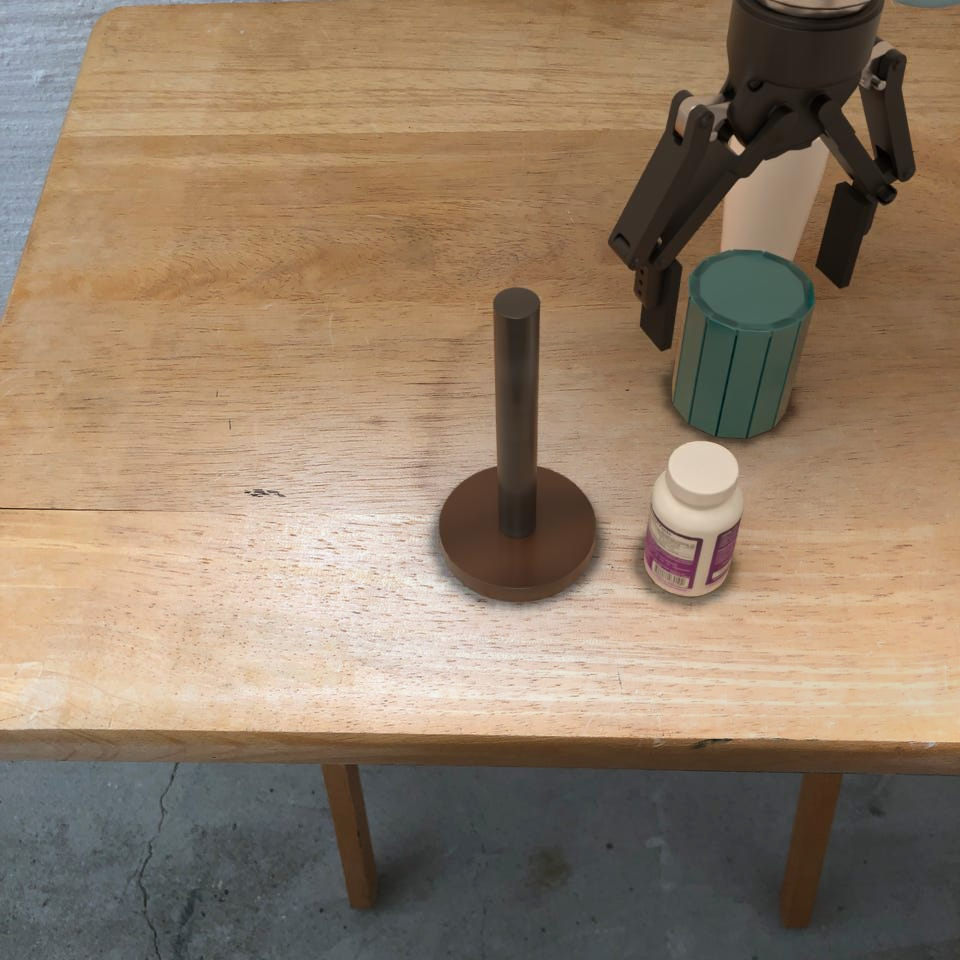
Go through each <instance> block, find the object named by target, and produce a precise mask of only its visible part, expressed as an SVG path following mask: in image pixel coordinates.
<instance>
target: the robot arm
mask: <svg viewBox="0 0 960 960" xmlns="http://www.w3.org/2000/svg"><path fill="white" fill-rule="evenodd" d="M892 1H893V2H896V3H898V4H901V5H903V6H908V7H913V8H919V9H942V8H943V9H944V8H950V7H954V6H958V5H960V0H892ZM884 7H885V0H732V1H731V8H730V16H729V20H728V21H729V22H728V29H727V35H726V43H725V44H726V45H725V46H726V54H727V55H726V56H727V62H728V72H727V77H726V78H725V81H724V83H723V85H722V87H721V88H720V90H719V91H718V94H711V95H706V96H699V97H696V96H695V95H693V93H691V92H690V91H689V90H688V89H681V90H679V91H677V92H676V93H675V94H674V96H673V97H672V99H671V102H670V107H669V110H668V111H669V112H668V116H667V120H666V125H665V130H664V132H663V133H662V135H661V138H660V139H659V141H658V142H657V145H656V147H655V149H654V150H653V152H652V155H651V157H650V158H649V161H648V162H647V164H646V166H645V167H644V170H643V172H642V174H641V176H640V178H639V179H638V181H637V183H636V185H635V186H634V188H633V191H632V193H631V195H630V197H629V198H628V200H627V202H626V205H625V206H624V208H623V210H622V212H621V214H620V215H619V217H618V219H617V221H616V223H615V225H614V227H613V229H612V231H611V233H610V234H609V237H608V239H607V245H608V247H609V248H610V249H611V250H612V251H613V252H614V253H615V254H616V256H617V257H618V258H619V259H620V261H622V263H623V264H624V265H625V266H626V267H627V268H628V269H629V271H632V272H634V284H633V293H634V295H635V297H636V298H637V299H638V300H639V302H640V303H641V308H640V317H639V328H640V329H641V330H642V332H644V334H645V335H646V336H647V337H648V338H649V340H650V341H651V342H652V343H653V344H654V345H655V347H656V348H657V349H658V350H659V351H660V353H662V352H665V351H667V350H670V349H672V347H673V339H674V332H675V325H676V324H675V323H676V317H677V312H678V311H677V310H678V305H679V297H680V290H681V282H682V277H683V276H682V275H683V265H682V263H680V261H679V260H678V259H677V257H678V255H679V254H680V253H681V251H682V250H683V249H684V248H685V247H686V245H688V243H689V242H690V240H692V238H693V237H694V235H696V233H697V232H698V231H699V230H700V229H701V227H702V226H703V224H704V223H705V222H706V221H707V219H708V218H709V217H710V216H711V215H712V213H713V212H714V211H715V210H716V208H717V207H718V206H719V205H720V203H721V202H722V201H723V200H724V197H725V196H726V194H727V193H728V192H729V191H730V189H731V188H732V187H733V186H734V185H735V183H736V182H737V181H738V180H739V179H741V178H747V177H749V176H750V175H751V174H752V173H753V172H754V171H755V169H756V168H757V167H758V166H759V164H760V163H761V162H762V161H763V160H765V161H767V160H770V159H773V158H776V157H778V156H780V155H782V154H784V153H786V152H787V151H791V150H802V149H806V148H809V147H811V145H812V142H813V141H814V140H816V139H817V138H818V137H820V139H821V140H822V141H823V143H824V144H825V145H826V147H827V148H828V149H829V151H830V153H831V155H832V156H833V158H834V159H835V160H836V161H837V163H838V164H839V165H840V167H841V168H842V170H843V171H844V172H845V174H846V175H847V176H848V178H849V179H850V180H852V183H849V182H848V181H847V180H845V181H844V180H843V181H841V182H838V183H836V184H835V187H834V191H833V194H832V199H831V201H830V206H829V210H828V213H827V218H826V221H825V225H824V230H823V233H822V238H821V241H820V245H819V250H818V253H817V257H816V261H815V268H816V269H817V270H818V271H819V272H821V274H823V275H824V276H825V277H826V278H827V279H828V280H829V281H830V282H831V283H832V284H833V285H834V286H835V287H836V288H837V289H838V290H841V289H845V288H847V287H848V288H849V287H850V284H851V280H852V277H853V273H854V270H855V266H856V263H857V259H858V256H859V252H860V249H861V245H862V243H863V239H864V237H865V236H867V235H868V233H869V232H870V230H871V228H872V226H873V223H874V219H875V215H876V213H877V209H878V206H879V204H880V205H881V206H885V207H886V206H888V205H890V204H892V203H893V202H894V200H895V199H896V198H897V195H898V189H897V188H896V187H894V186H893V185H892V184H893V183H895V182H897V181H898V182H900V183H906V182H908V181H910V180H911V179H912V178H913V176H914V175H915V173H916V170H917V166H916V161H915V154H914V150H913V144H912V139H911V138H912V137H911V132H910V127H909V121H908V116H907V115H908V114H907V110H906V104H905V98H904V94H903V84H904V78H905V73H906V67H907V63H908V57H907V56H906V54H904V53H903V52H901V51H900V50H899V49H897V48H895V47H894V46H892V45H891V44H890V43H889V42H887V41H885V40H884V39H883V38H881V37H880V36H878V30H879V26H880V22H881V18H882V14H883V10H884ZM857 88H858V91H859V95H860V100H861V104H862V109H863V113H864V119H865V122H866V127H867V131H868V135H869V140H870V144H871V149H872V154H873V157H871V156H870V153H869V152H868V151H867V149H866V148H865V146H864V145H863V144H862V142H861V141H860V139H859V138H858V136H857V135H856V130H855V129H854V127H853V125H852V124H851V123H850V121H849V120H848V118H847V117H846V116H845V114H844V112H843V110H842V108H843V107H844V106H845V104H846V103H847V102H848V100H849V99H850V98H851V96H852V95H853V93H854V92H855V91H856V90H857ZM733 135H734V136H735V138H736V139H737V141H738V142H739V143H740V144H741V145H742V146H743V147H744V148H745V150H744V151H743V152H742V153H741V154H740V155H737V154H736V153H735V152H734V151H733V150H732V149H731V148H730V147H729V143H730V139H731V137H732V136H733ZM659 239H660V240H661V241H660V240H659Z"/></svg>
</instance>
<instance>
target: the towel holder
mask: <svg viewBox="0 0 960 960" xmlns="http://www.w3.org/2000/svg"><path fill="white" fill-rule="evenodd" d="M492 313H493V314H492V323H493V359H494V360H493V364H494V366H493V367H494V403H495V406H494V407H495V442H496V443H495V447H496V465H495V466H491V467H487V468H484V469H482V470H480V471H478V472H475V473H474V474H472V475H470V476H468V477H467V478H465V479H464V480H463V481H461V482H460V483H459V484H458V485H457V486H456V487H454V489H453V490H452V491H451V492H450V494H449V495H448V496H447V498H446V500H445V502H444V503H443V506H442V508H441V511H440V515H439V519H438V533H439V544H440V545H439V546H440V551H441V555H442V558H443V560H444V562H445V564H446V566H447V568H448V569H449V571H450V573H451V574H453V576H454V577H455V578H456V579H457V580H458V581H459V582H460V583H461V584H463V585H464V586H465V587H467V588H468V589H470V590H471V591H473V592H475V593H477V594H479V595H481V596H483V597H486V598H489V599H492V600H496V601H500V602H509V603H526V602H534V601H539V600H543V599H546V598H549V597H552V596H554V595H556V594H559V593H560V592H562V591H564V590H565V589H567V588H569V587H570V586H571V585H573V584H574V583H575V582H576V581H577V580H578V579H579V578H580V577H581V576H582V575H583V574H584V572H585V571H586V570H587V568H588V567H589V564H590V562H591V560H592V558H593V555H594V551H595V544H596V535H597V521H596V515H595V511H594V508H593V506H592V503H591V502H590V499H588V497H587V495H586V494H585V493H584V492H583V489H581V488H580V487H579V486H578V485H577V484H576V483H575V482H573V481H572V480H571V479H570V478H568V477H566V476H565V475H563V474H561V473H560V472H557V471H555V470H552V469H550V468H546V467H544V466H540V465H538V450H539V449H538V447H539V446H538V445H539V443H538V441H539V398H540V397H539V395H540V394H539V392H540V391H539V389H540V388H539V387H540V386H539V385H540V339H541V338H540V336H541V335H540V334H541V300H540V296H539V295H538V294H537V293H536V292H534V291H533V290H531V289H529V288H526V287H522V286H521V287H520V286H512V287H508V288H505V289H502V290H501V291H499V292H498V293H496V295H495V296H494V297H493V299H492Z"/></svg>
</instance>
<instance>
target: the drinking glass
mask: <svg viewBox="0 0 960 960" xmlns="http://www.w3.org/2000/svg"><path fill="white" fill-rule="evenodd" d="M728 146H729V147H730V148H731V149H732V150H733V151H734V152H735V153H736V154H737V155H740V154H741V153H742V152H743V151H744V150H745V148H744V147H743V146H742V145H741V144H740V143H739V142H738V141H737V139H736V138H735V136H734V135H733V136H732V137H731V138H730V140H729V144H728ZM830 153H831V152H830V151H829V149H828V148H827V147H826V145H825V144H824V143H823V141H822V140H821V139H820V137H818V138H817V139H816V140H814V141H813V142H812V145H811V147H809V148H806V149H802V150H791V151H787V152H786V153H784V154H782V155H780V156H778V157H776V158H773V159H770V160H767V161H765V160H763V161H762V162H761V163H760V164H759V166H758V167H757V168H756V169H755V171H754V172H753V173H752V174H751V175H750V176H749V177H747V178H741V179H739V180H738V181H737V182H736V183H735V185H734V186H733V187H732V188H731V189H730V191H729V192H728V193H727V194H726V196H725V197H724V198H723V208H722V223H721V234H720V238H721V239H720V249H719V253H721V252H724V251H727V250H731V251H732V250H733V249H743V250H762V251H763V252H765V251H767V252H769V253H772V254H775V255H777V256H780V257H782V258H785V259H788V260H790V261H792V263H794V260H795V258H796V254H797V253H798V252H797V251H798V248H799V245H800V243H801V240H802V238H803V234H804V232H805V229H806V226H807V224H808V221H809V218H810V215H811V213H812V211H813V207H814V204H815V201H816V199H817V196H818V193H819V190H820V187H821V185H822V182H823V178H824V175H825V172H826V168H827V164H828V160H829V157H830Z"/></svg>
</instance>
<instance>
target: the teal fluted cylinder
mask: <svg viewBox="0 0 960 960" xmlns="http://www.w3.org/2000/svg"><path fill="white" fill-rule="evenodd" d="M816 302H817V301H816V294H815V288H814V282H813V281H812V278H811V277H810V276H808V275H807V274H806V273H805V271H804V270H803V269H802V268H801V267H800V266H799V265H798V264H797V263H796V262H793V263H792V261H790V260H788V259H785V258H782V257H780V256H777V255H775V254H772V253H769V252H767V251H765V252H763V251H762V250H743V249H733V250H732V251H731V250H727V251H724V252H721V253H720V252H719V253H715V254H712V255H708V256H706V257H705V259H704V258H703V259H702V260H701V261H700V262H699V263H698V264H697V265H696V266H695V268H693V270H692V271H691V272H690V273H689V274H688V277H687V283H686V289H685V296H684V302H683V307H682V309H683V310H682V315H681V320H680V321H681V322H680V328H679V335H678V341H677V349H676V354H675V355H676V356H675V361H674V369H673V375H672V381H671V401H672V404H673V407H674V408H675V409H676V411H677V412H678V413H679V414H680V415H681V418H683V419H684V421H685V422H686V423H687V424H689V425H690V426H691V427H693V428H695V429H698V430H700V431H702V432H704V433H706V434H708V435H711V436H713V437H715V436H716V437H717V438H724V439H725V438H727V439H746V438H748V439H749V438H752V437H755V436H758V435H761V434H763V433H765V432H768V431H770V430H771V431H772V429H774V428H775V427H776V426H777V424H778V423H779V422H780V420H781V419H782V418H783V416H784V415H785V414H786V412H787V409H788V405H789V402H790V398H791V396H792V395H791V394H792V391H793V387H794V384H795V380H796V377H797V372H798V369H799V365H800V362H801V357H802V355H803V350H804V347H805V343H806V340H807V337H808V332H809V329H810V325H811V321H812V318H813V314H814V310H815V307H816Z"/></svg>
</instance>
